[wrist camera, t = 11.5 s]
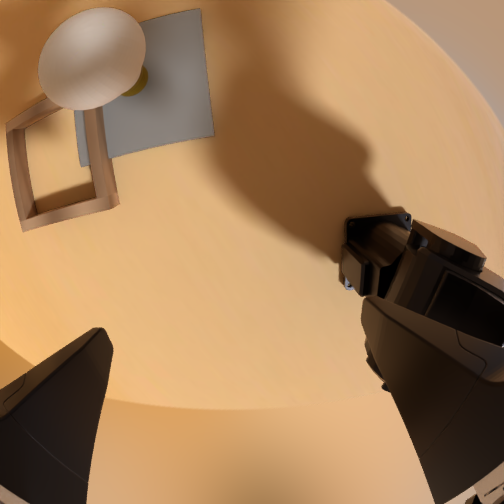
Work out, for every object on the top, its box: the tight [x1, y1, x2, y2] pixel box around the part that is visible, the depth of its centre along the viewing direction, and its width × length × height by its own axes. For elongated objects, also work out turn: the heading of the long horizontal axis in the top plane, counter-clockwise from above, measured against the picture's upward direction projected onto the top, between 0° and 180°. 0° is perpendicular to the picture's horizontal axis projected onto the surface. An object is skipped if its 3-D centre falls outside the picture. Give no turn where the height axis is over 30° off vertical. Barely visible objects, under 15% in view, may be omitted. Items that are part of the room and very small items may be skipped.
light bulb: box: [38, 7, 148, 110], centre depth 11 cm, size 6×6×10 cm
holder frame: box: [6, 98, 120, 232], centre depth 16 cm, size 10×10×2 cm
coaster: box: [74, 8, 215, 167], centre depth 16 cm, size 11×11×1 cm
